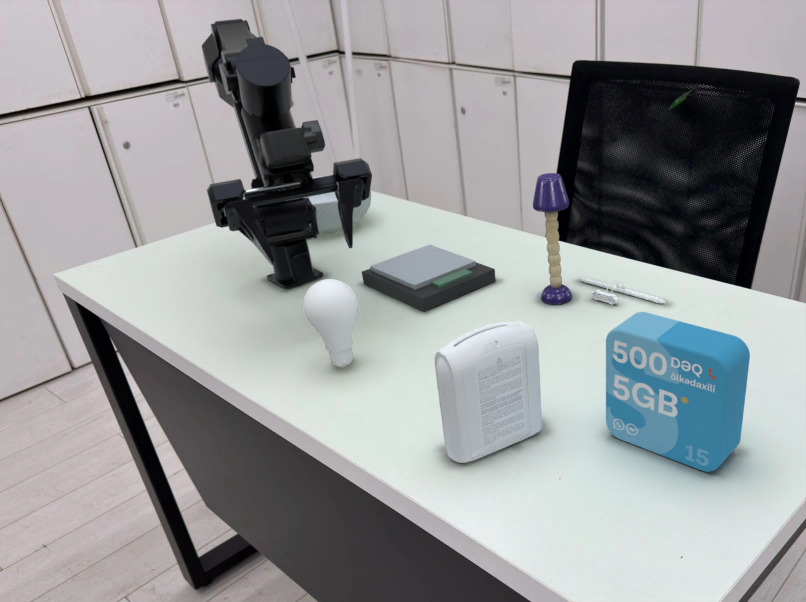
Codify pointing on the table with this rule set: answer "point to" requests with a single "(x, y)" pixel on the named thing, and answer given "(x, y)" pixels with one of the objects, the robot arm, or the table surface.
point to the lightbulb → (333, 317)
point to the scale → (428, 277)
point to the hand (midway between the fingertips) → (312, 254)
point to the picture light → (612, 297)
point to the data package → (676, 389)
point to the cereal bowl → (334, 211)
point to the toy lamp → (552, 233)
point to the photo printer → (489, 389)
